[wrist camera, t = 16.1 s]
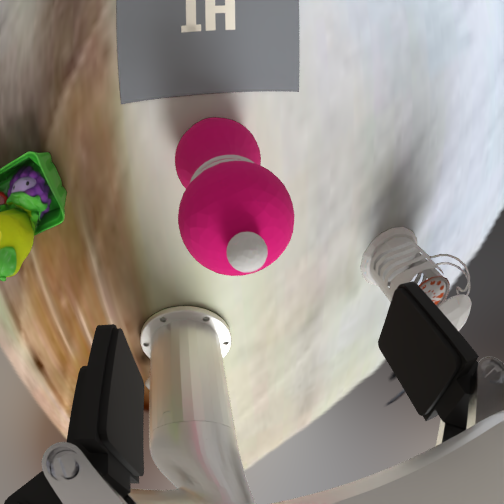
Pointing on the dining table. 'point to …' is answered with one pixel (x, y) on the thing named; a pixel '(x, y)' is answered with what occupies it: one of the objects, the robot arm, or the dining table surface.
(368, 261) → the french press
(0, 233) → the fruit basket
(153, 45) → the tile
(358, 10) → the dining table surface
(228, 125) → the pepper mill
